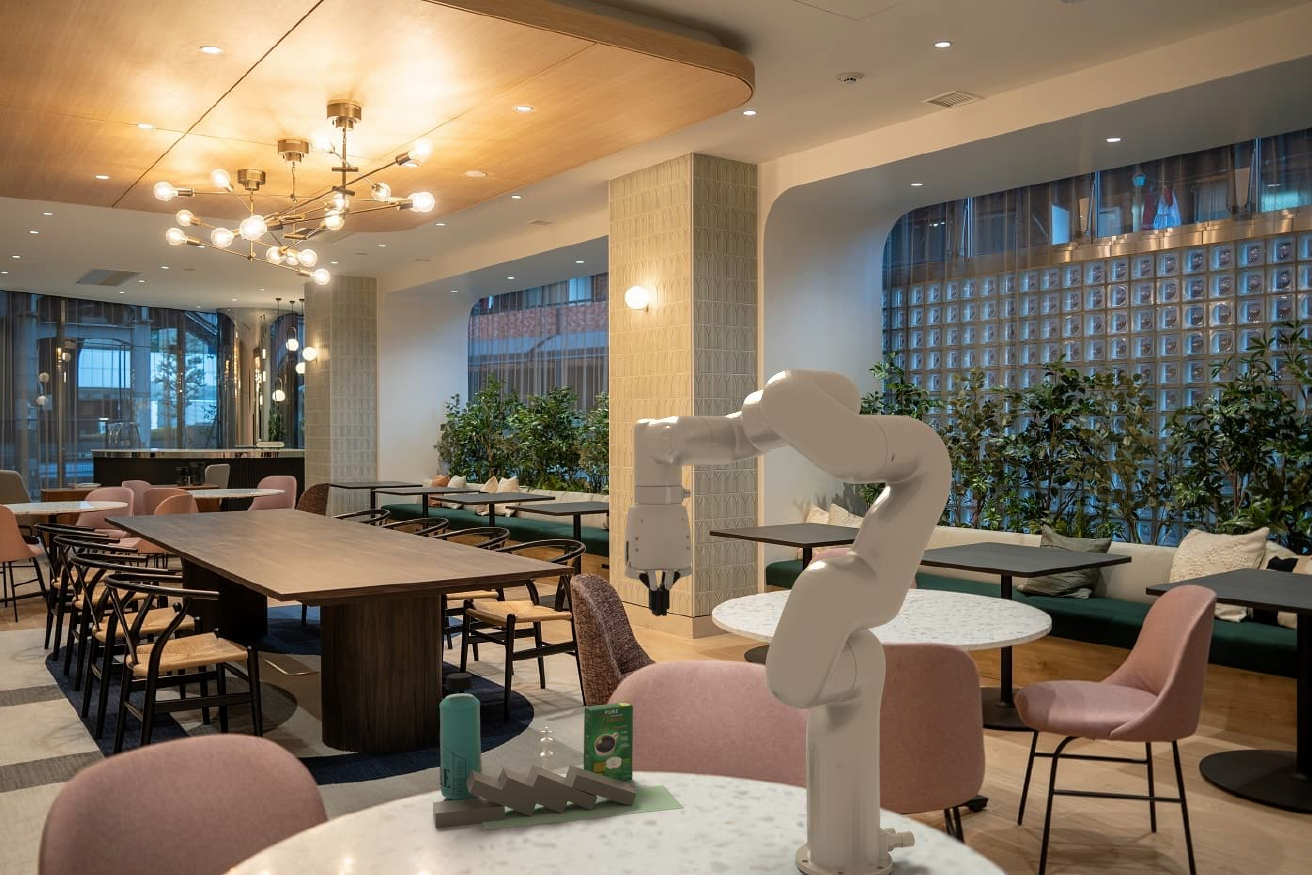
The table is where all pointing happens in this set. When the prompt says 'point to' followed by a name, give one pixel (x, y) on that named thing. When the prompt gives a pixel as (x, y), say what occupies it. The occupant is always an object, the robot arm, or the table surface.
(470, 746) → the beverage bottle
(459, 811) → the domino
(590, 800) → the domino
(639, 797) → the mat
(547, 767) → the chess piece
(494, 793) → the domino
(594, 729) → the coffee box
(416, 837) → the table surface
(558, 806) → the domino
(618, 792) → the domino
